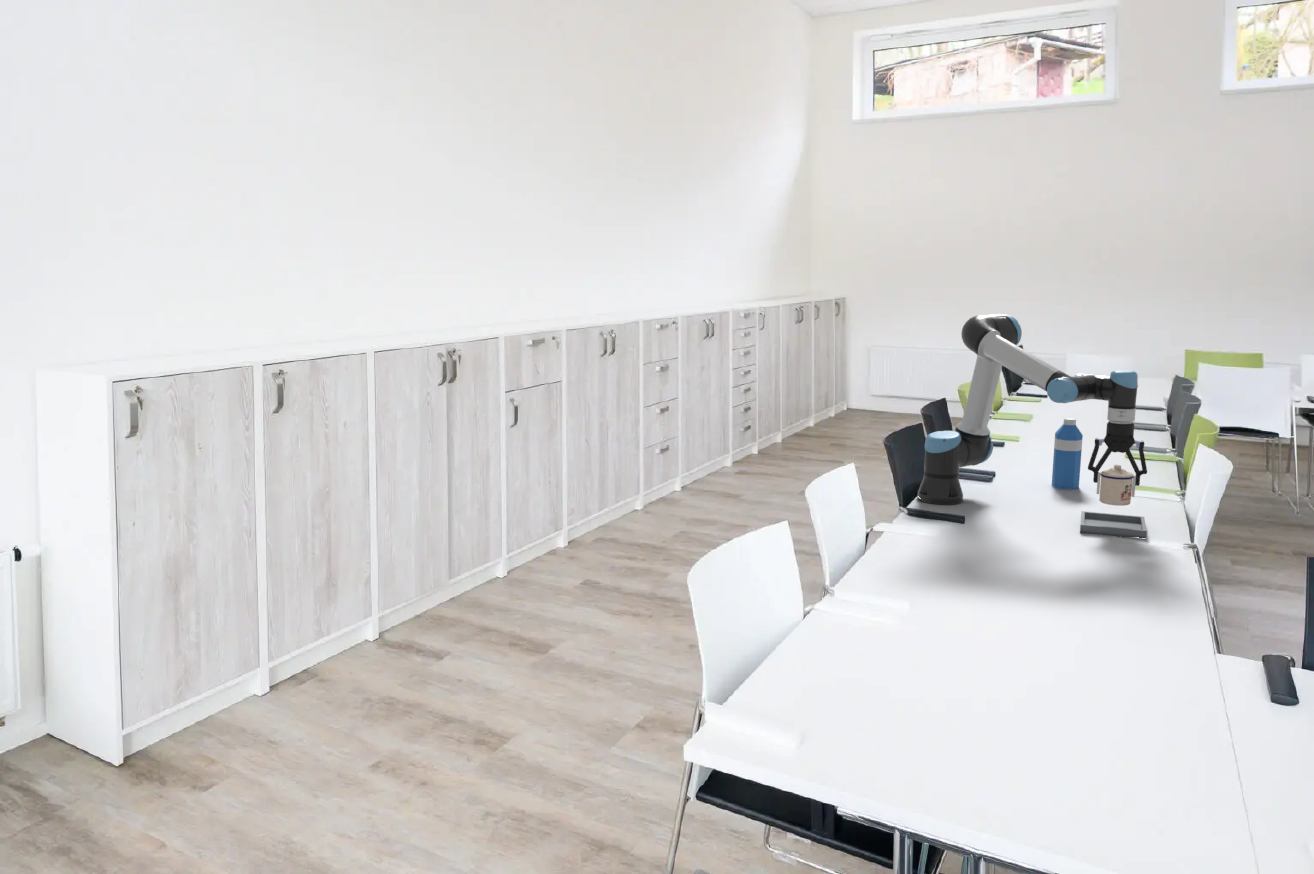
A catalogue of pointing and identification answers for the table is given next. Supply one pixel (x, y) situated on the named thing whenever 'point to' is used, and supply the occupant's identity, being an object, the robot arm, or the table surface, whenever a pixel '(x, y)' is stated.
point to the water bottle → (1067, 456)
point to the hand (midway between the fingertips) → (1115, 494)
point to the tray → (1112, 525)
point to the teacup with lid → (1116, 486)
